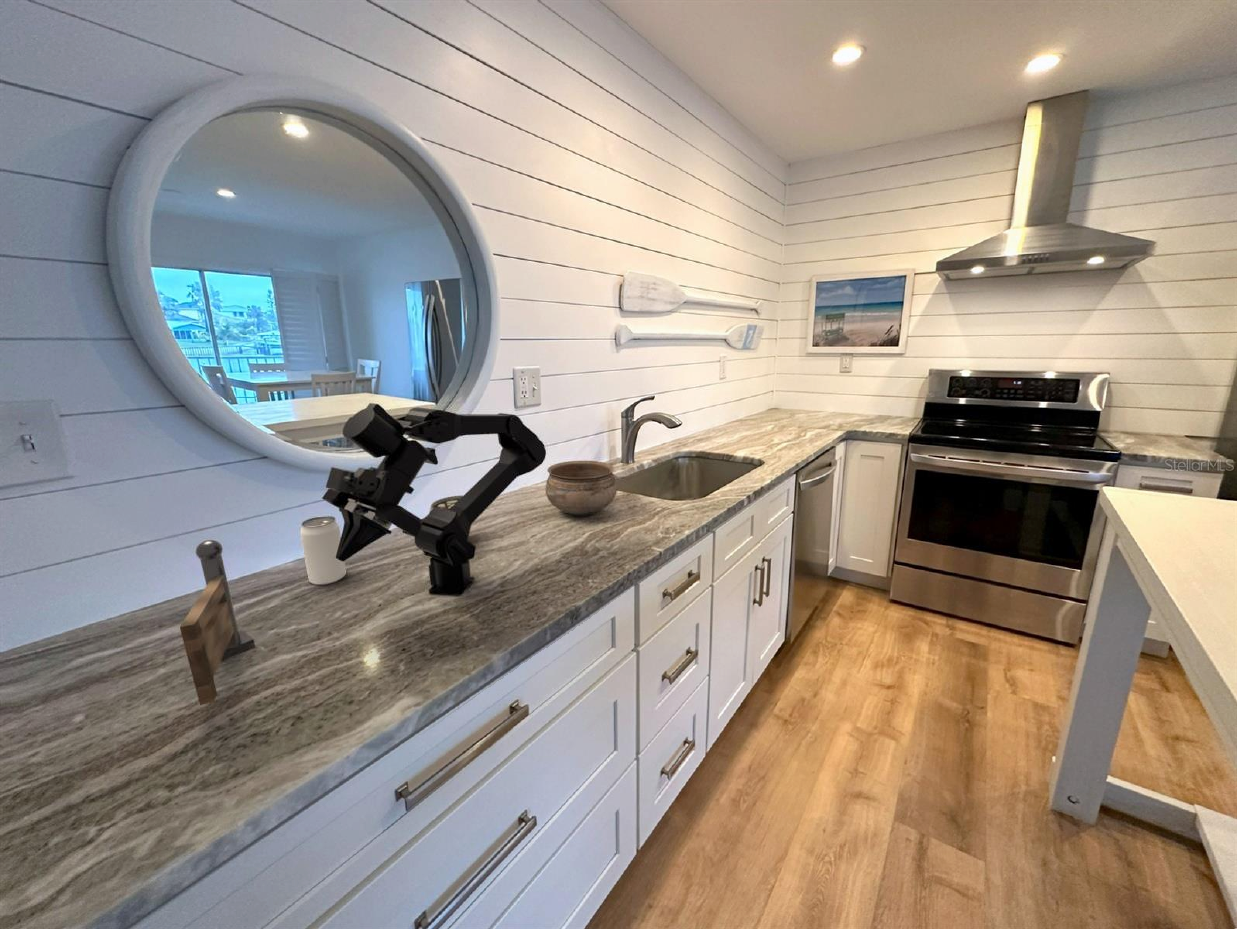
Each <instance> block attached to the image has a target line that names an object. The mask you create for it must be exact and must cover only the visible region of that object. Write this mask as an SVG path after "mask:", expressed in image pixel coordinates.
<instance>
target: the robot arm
mask: <svg viewBox="0 0 1237 929" xmlns="http://www.w3.org/2000/svg"><path fill="white" fill-rule="evenodd" d="M342 435H343V437H344V438H346V439H347V440H348V441H349V442H351V443H353V444H354V445H355V446H357V447H358V448H360V449H362V450H363V451H364V452H365V453H367V454H369V455H370V456H372V457H373V458H374V459H375V458H381V457H383V459H382V460H381V461H380V463H379V465H378V466H377V468H376V467H373V466H371V467H369V468H364V467H358V468H357V470H355V471H353V470H348V469H343V468H337V467H334V466H331V468H330V472H329V473H328V478H327V481H326V485H325V488H326V489H327V490H326V492H325V493H324V495H323V496H322V497H321V498H322V500H323V501H325V502H327V503H329V504H331V505H332V506H334V507H336V508H337V509H338V511H339V512H340V513H341V515H342V518H343V522H344V523H343V526H342V527H343V528H342V533H341V539H340V543H339V546H338V550H337V554H336V559H338V560H340V561H345V562H346V561H347V560H349V559H350V558H351V557H353V556H354V555H356V554H357V553H358V552H360V551H361V550H363V549H364V548H366V547H368V546H369V545H370V544H372V543H375V542H376V541H378V540H379V539H381V538H382V537H384V536H386V535H391V533H393V531H392V530H390V528H391V527H392V525H394V527H396V528H398V529H400V530H402V533H403V534H405V535H407V536H410V537H412V538H414V544H415V546H416V547H417V548H418V549H419V550H421V551H422V552H423V554H424V556H426V557H430V558H429V563H430V564H429V565H428V574H429V575H428V576H429V583H430V585H431V587H430V588H429V589H428V590H427V591H428V594H437V595H449V596H450V595H451V596H462V595H463V594H464V593H465V591H466V590H468V588H469V587H470V586H471V584H472V583H474V581H475V580H476V579H475V576H471V566H470V564H471V563H470V560H472V559H474V557H475V554H476V549H477V547H476V545H474V544H473V543H471V542H470V541H468V539H469V536H470V533H471V528H472V524H473V523H474V522H475V521H476V520H477V519H478V518H479V517H480V516H481V515H483V514H482V513H484V512H485V511H486V510H487V509H488V507H490V505H491V504H492V503H493V502H495V500H497V498H498V497H499V496H500V495H501V494H502V493H503V492H504V491H505V490H506V489H507V488H509V486H510V485H511V484H512V483H513V481H515V480H516V479H517V478H519V477H520V476H523V475H526V474H528V473H531V472H533V471H534V470H535V469H537V468H538V467H540V466H541V465H542V464H543V463H544V461H545V460H546V455H547V450H546V447H545V445H544V444H545V443H544V442H543V441H542V440H540V438H539V437H538V435H537V434H536V433H535V432H533V431H532V429H530V428H529V427H527V426H526V425H525V424H524V422H523V421H522V420H521V418H520V417H519V416H517V415H515V414H512V413H511V414H510V413H502V412H501V413H497V414H496V413H495V414H493V413H492V414H491V413H490V414H489V413H487V414H486V413H485V414H481V413H480V414H479V413H477V414H475V413H474V414H469V413H466V414H465V413H464V414H462V413H461V414H460V413H456V412H451V411H446V410H442V409H435V408H426V407H419V406H417V407H412V408H410V409H409V410H408V412H407V413H406V415H403V416H400V417H397V418H394V417H393V416H392V415H391V414H389V413H388V412H387V411H386V409H385V408H383V407H382V406H381V405H380V404H378V403H375V402H374V403H373V402H370V403H369V404H367V405H366V407H365V408H362V409H361V410H359V411H357V412H356V413H355V414H353V416H351V417H349V418H348V419H347V420H346V421H345V423H344V426H343V428H342ZM480 435H497V439H498V443H499V446H500V447H501V448H502V449H501V451H500V455H499V459H498V460H499V461H498V462H497V463H496V464H495V465H493V466H492V468H490V469H489V470H488V471H487V472H486V473H485V474H484V475H483V476H482V477H481V478H480V479H479V480H477V482H476V483H475V484H474V485H473V486H472V487H471V488H470V489H469V490H468V491H466V493H465V494H463V497H462V498H461V499H459V500H458V501H457V502H456V503H455V504H454V505H453V506H452V507H451V508H449V509H443V508H440V507H435V508H433V509H432V510H431V511H430V510H429V511H430V513H429V512H428V514H427V515H425V517H423V518H420V517H418V516H417V515H415V514H414V513H412V512H410V511H409V510H407V509H406V508H404V507H403V506H401V505H399V504H400V502H401V500H402V499H403V497H404V496H405V495H406V494H408V495H412V494H413V492H414V491H415V488H414V487H412V486H411V484H413V482H414V480H415V479H416V477H417V475H418V474H419V472H420V471H421V470H422V468H423V466H424V465H425V463H427V464H431V465H438V464H439V460H438V456H437V455H436V449H435V448H432V447H427V446H424V445H423V444H422V443H420V442H426V443H430V444H437V445H439V444H443V443H447V442H450V441H455V440H457V439H458V438H459V437H464V436H480ZM405 436H407V437H408V438H409V439H411V440H409V439H407V437H405Z"/></svg>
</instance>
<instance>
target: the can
mask: <svg viewBox="0 0 1237 929" xmlns="http://www.w3.org/2000/svg"><path fill="white" fill-rule="evenodd" d="M341 536H342V534H341V530H340V525H339V523H338V522H337V521H336V517H335V516H333V515H332V516H331V515H323V516H322V515H321V516H314V517H311V518H308V519H306V520H304V521H302V522H301V528H300V538H301V544H302V551H303V556H304V561H305V569H306V572H307V577H308V581H309V583H310V584H312V585H314V586H315V585H316V586H325V585H331V584H333V583H336V582H338V581H340V580H342V579H343V578H344V577H345V575H346V574H347V569H346V560H345V561H340V560H338V559H336V554H337V550H338V546H339V543H340V539H341Z"/></svg>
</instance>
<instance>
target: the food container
mask: <svg viewBox="0 0 1237 929" xmlns="http://www.w3.org/2000/svg"><path fill="white" fill-rule="evenodd" d="M463 496H464V494H463V495H453V496H452V495H451V496H448V497H443V498H440V499H437V500H435V501H433V502H432V503H431V505H430V507H429V512H428V514H429V513H430V511H431V510H432V509H433V508H435V507H440V508H443V509H449V508H451V507H452V506H453V505H454V504H455V503H456V502H457V501H458V500H459V499H461V498H462V497H463Z"/></svg>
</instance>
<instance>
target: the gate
mask: <svg viewBox="0 0 1237 929" xmlns="http://www.w3.org/2000/svg"><path fill="white" fill-rule="evenodd" d="M179 630H180V633H181V637H182V642H183V644H184V648H185V653H186V656H187V661H188V664H189V668H190V671H191V676H192V679H193V683H194V686H195V691H196V694H197V698H198V703H199V706H203V705H206V704H210V703H214V702H215V701H216V698H217V695H218V693H217V692H218V691H217V688H216V683H215V681H214V680H215V678H214V676H215V674H216V672H217V671H218V668H219V665H220V663H221V662H222V661H221V659H222V657H223V655H224V652H225V650H226V649H230V648H234V647H237V646H238V644H239V637H238V633H237V628H236V624H235V619H234V615H233V610H232V606H231V602H230V597H229V593H228V588H227V584H226V580H225V575H220V576H214V577H212V578H211V580H210V581H209V583H208V584H207V586H205V588H204V589H203V590H202V592H201V594H200V596H199V597H198V598H197V599H196V601H195V603H194V605H193V606H192V607H191V609H190V611H189V613H188V614H187V615H186V617H185V619H184V620H183V622H182V623H181V625H180V626H179Z"/></svg>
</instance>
